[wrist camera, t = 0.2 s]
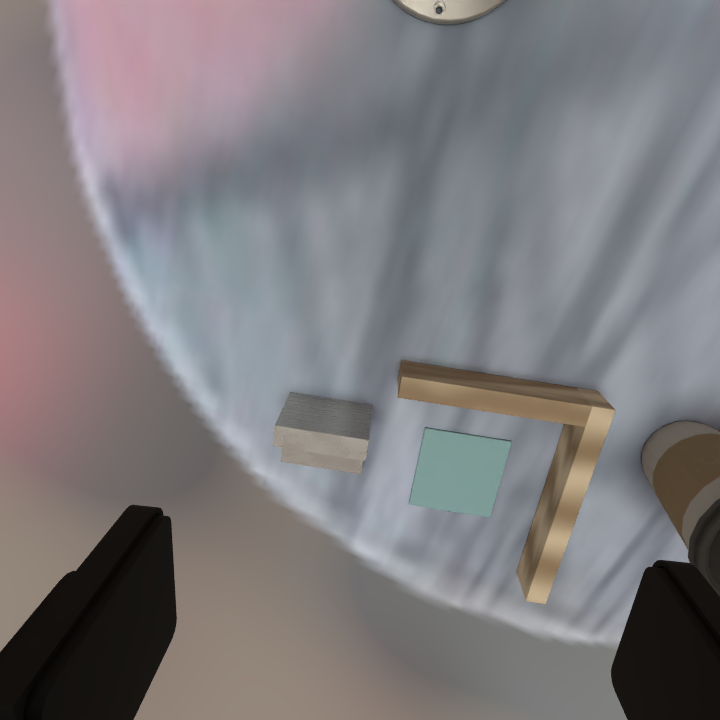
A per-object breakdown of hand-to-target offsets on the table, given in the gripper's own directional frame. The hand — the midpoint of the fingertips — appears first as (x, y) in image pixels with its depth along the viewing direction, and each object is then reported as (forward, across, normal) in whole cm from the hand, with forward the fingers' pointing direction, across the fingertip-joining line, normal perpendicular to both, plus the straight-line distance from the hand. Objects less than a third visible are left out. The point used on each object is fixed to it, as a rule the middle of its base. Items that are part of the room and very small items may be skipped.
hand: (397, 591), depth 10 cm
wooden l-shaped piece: (+36, -10, +19) cm, 43 cm away
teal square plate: (+36, -9, +19) cm, 42 cm away
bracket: (+37, +5, +16) cm, 40 cm away
